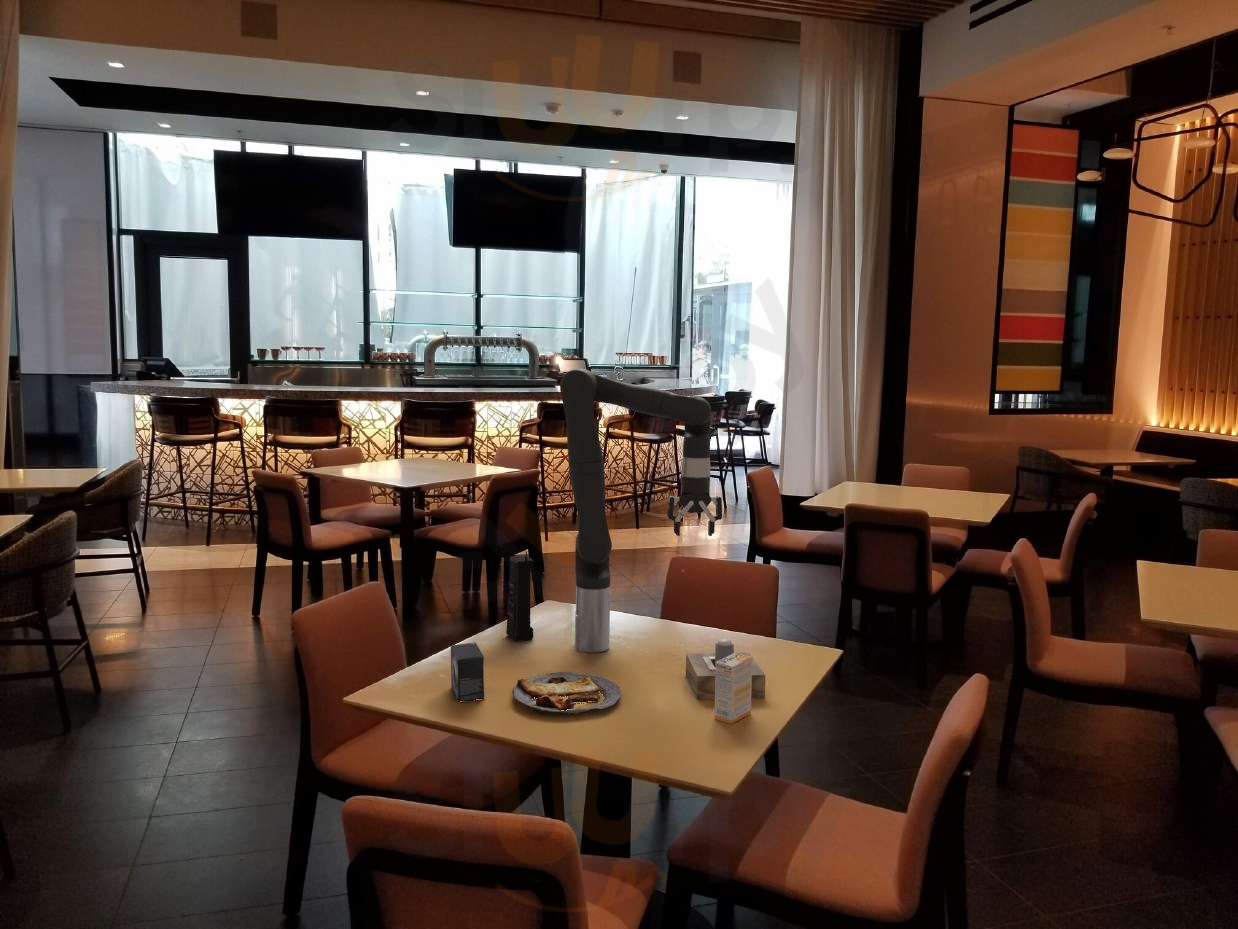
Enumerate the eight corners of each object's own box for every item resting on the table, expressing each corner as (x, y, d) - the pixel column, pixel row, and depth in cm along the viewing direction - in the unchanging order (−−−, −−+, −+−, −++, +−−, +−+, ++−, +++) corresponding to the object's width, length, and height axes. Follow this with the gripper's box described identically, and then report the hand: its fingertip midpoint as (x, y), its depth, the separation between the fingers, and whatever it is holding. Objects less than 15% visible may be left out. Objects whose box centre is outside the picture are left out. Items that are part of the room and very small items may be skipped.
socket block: (696, 699, 208) (697, 674, 207) (685, 674, 224) (686, 652, 223) (764, 697, 209) (765, 673, 209) (748, 674, 225) (749, 651, 224)
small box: (449, 687, 213) (449, 644, 212) (476, 684, 215) (476, 641, 214) (456, 703, 203) (456, 658, 202) (485, 700, 205) (485, 655, 204)
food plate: (520, 722, 193) (521, 706, 192) (504, 685, 215) (505, 671, 215) (632, 715, 199) (633, 699, 199) (605, 679, 222) (606, 666, 221)
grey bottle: (716, 684, 214) (717, 643, 213) (712, 677, 218) (714, 638, 217) (734, 684, 214) (735, 643, 213) (730, 677, 219) (731, 637, 218)
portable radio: (504, 634, 254) (504, 547, 251) (524, 632, 256) (524, 546, 253) (513, 642, 247) (513, 553, 244) (533, 640, 249) (534, 551, 246)
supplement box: (733, 708, 203) (734, 651, 201) (751, 713, 200) (753, 656, 198) (712, 719, 197) (714, 661, 195) (731, 725, 193) (733, 666, 192)
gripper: (670, 476, 230) (669, 538, 232) (725, 476, 231) (723, 538, 233) (666, 472, 237) (665, 532, 239) (719, 472, 239) (717, 532, 240)
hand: (694, 535), depth 236 cm, fingers open, 8 cm apart
